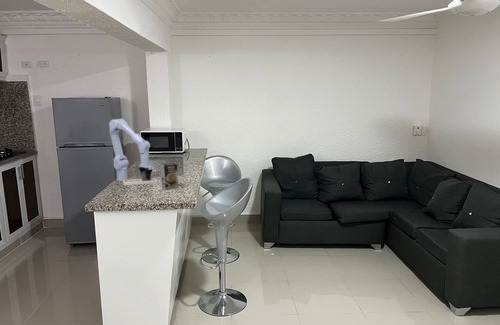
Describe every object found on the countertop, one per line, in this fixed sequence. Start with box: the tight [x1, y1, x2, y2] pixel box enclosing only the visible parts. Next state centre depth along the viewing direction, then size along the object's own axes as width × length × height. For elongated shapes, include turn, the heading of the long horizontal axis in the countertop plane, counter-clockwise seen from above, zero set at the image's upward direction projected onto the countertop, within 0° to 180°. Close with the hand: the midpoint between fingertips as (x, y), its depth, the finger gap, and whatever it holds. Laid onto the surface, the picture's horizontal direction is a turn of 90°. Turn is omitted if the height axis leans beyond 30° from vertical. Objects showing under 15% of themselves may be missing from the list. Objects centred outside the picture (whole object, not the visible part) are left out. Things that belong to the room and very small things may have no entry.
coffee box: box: [160, 162, 179, 191], centre depth 248 cm, size 9×6×16 cm
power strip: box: [122, 177, 158, 186], centre depth 260 cm, size 9×22×3 cm, turn 112°
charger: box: [141, 171, 150, 181], centre depth 261 cm, size 5×5×7 cm
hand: (146, 178), depth 261 cm, fingers open, 6 cm apart
